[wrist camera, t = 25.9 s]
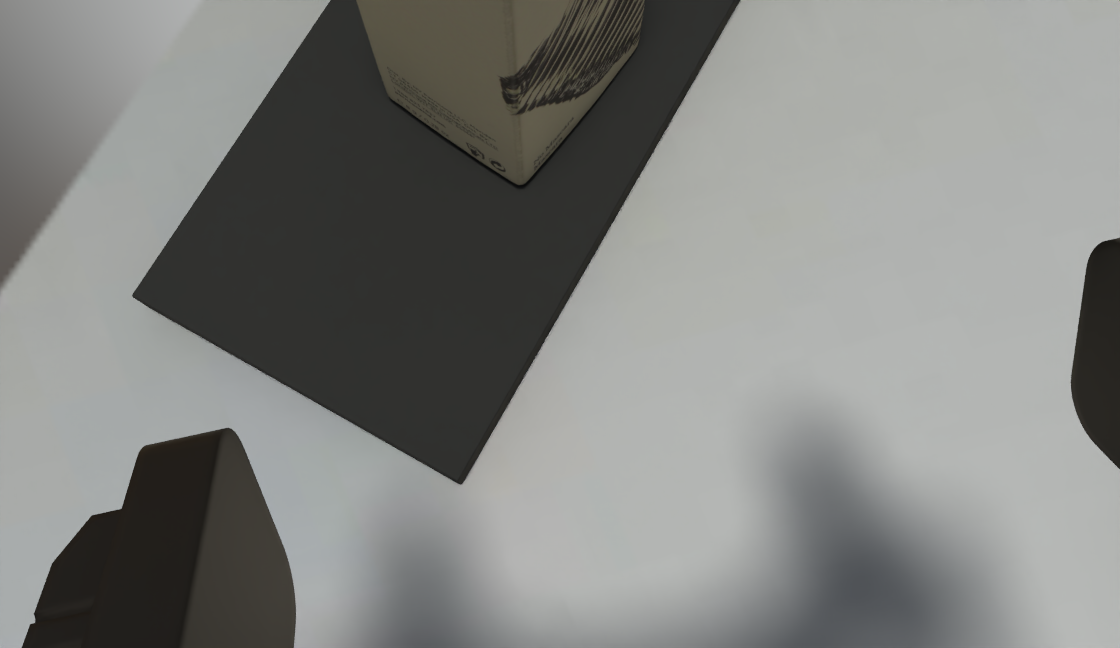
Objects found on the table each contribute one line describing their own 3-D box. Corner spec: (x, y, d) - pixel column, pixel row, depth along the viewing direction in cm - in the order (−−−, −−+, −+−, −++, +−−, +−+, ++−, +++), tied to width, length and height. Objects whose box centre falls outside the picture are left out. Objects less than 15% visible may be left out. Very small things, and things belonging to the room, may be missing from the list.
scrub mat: (461, 485, 25) (457, 481, 24) (146, 306, 26) (130, 295, 25) (829, -155, 29) (838, -180, 28) (543, -289, 30) (543, -317, 29)
